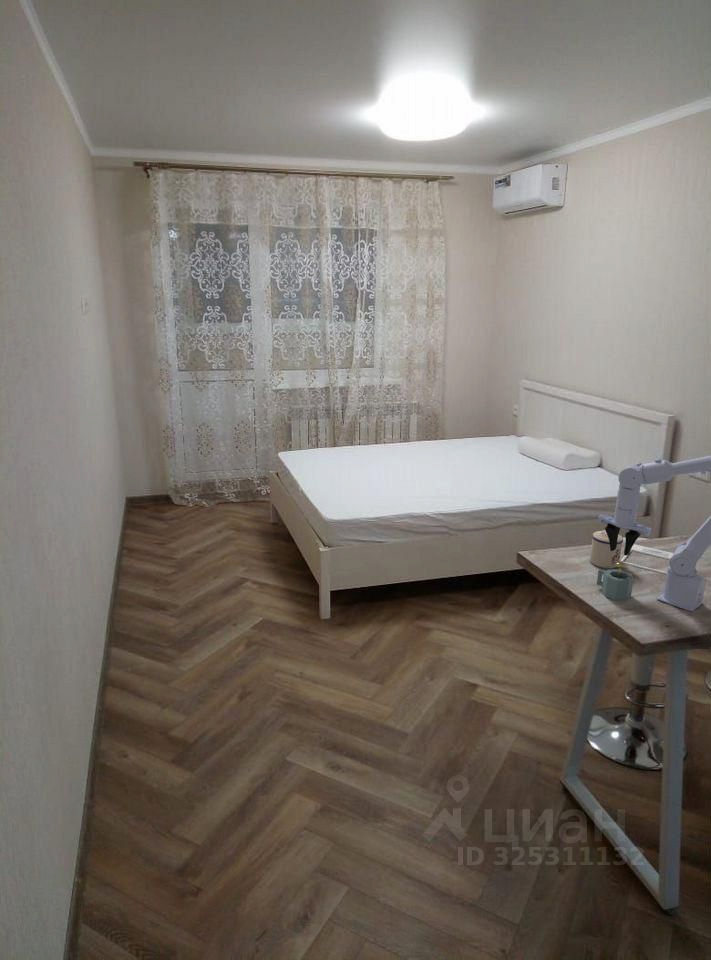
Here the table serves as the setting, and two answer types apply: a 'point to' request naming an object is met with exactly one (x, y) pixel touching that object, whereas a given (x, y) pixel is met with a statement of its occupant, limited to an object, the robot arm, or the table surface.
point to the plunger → (619, 565)
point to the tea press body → (615, 584)
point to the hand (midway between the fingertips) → (619, 552)
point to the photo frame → (649, 552)
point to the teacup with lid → (604, 550)
